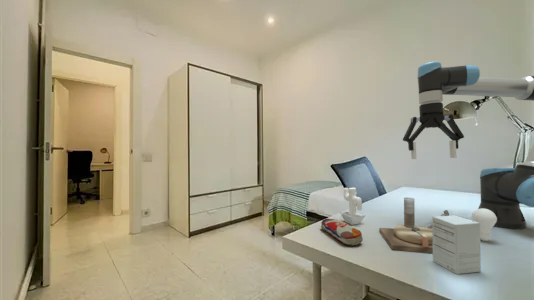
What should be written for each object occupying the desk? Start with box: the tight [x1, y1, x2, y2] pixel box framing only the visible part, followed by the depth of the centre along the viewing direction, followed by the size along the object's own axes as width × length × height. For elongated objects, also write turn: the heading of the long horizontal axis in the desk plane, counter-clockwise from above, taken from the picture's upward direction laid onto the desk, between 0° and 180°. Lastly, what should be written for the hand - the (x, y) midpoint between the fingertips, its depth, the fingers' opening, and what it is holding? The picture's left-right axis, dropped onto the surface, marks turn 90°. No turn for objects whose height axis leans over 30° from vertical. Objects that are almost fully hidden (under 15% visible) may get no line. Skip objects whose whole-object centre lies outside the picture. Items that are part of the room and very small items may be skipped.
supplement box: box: [431, 214, 482, 275], centre depth 63 cm, size 7×7×13 cm
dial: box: [393, 197, 433, 244], centre depth 79 cm, size 13×13×12 cm
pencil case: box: [320, 218, 364, 247], centre depth 85 cm, size 11×20×5 cm, turn 179°
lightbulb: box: [472, 208, 497, 242], centre depth 80 cm, size 6×6×11 cm
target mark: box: [422, 236, 428, 247], centre depth 72 cm, size 1×1×3 cm
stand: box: [378, 227, 433, 254], centre depth 79 cm, size 19×17×2 cm
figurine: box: [340, 187, 366, 226], centre depth 101 cm, size 7×9×15 cm
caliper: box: [424, 209, 451, 229], centre depth 93 cm, size 21×1×6 cm, turn 119°
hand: (433, 158), depth 91 cm, fingers open, 13 cm apart
